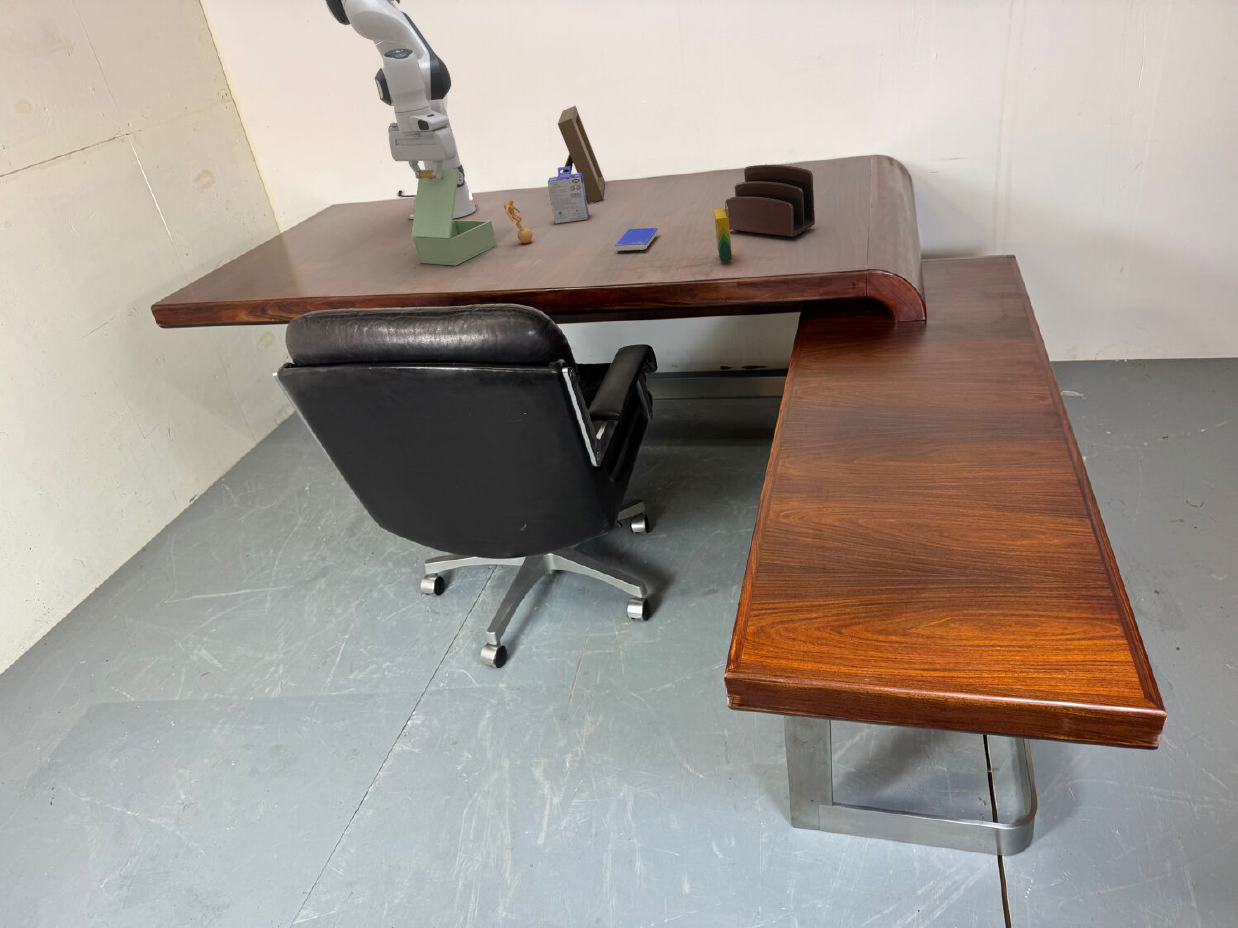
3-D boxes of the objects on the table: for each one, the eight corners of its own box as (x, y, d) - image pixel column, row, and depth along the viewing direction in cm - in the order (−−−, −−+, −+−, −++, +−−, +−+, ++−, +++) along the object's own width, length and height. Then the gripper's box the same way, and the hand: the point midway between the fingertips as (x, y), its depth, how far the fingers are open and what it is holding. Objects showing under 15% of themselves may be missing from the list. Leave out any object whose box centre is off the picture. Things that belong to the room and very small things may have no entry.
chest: (460, 243, 239) (454, 219, 235) (496, 245, 232) (491, 220, 228) (419, 263, 227) (412, 238, 224) (456, 265, 220) (449, 240, 217)
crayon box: (717, 250, 199) (713, 201, 193) (729, 249, 199) (726, 200, 193) (719, 261, 193) (715, 210, 187) (732, 259, 193) (728, 208, 187)
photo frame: (605, 184, 275) (593, 102, 262) (603, 202, 257) (590, 115, 243) (560, 190, 276) (546, 110, 263) (555, 208, 258) (540, 123, 245)
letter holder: (748, 218, 218) (745, 162, 211) (815, 225, 206) (814, 166, 198) (725, 230, 213) (721, 173, 205) (793, 238, 200) (791, 177, 193)
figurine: (530, 247, 226) (521, 202, 219) (508, 249, 227) (499, 205, 220) (536, 237, 233) (527, 193, 226) (515, 239, 234) (506, 196, 227)
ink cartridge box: (589, 214, 246) (581, 163, 238) (588, 219, 241) (580, 168, 234) (556, 219, 247) (547, 168, 239) (554, 224, 242) (545, 173, 234)
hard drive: (645, 243, 208) (657, 227, 218) (614, 244, 210) (627, 229, 220) (646, 249, 209) (658, 233, 219) (615, 250, 211) (628, 234, 221)
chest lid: (421, 170, 222) (408, 165, 219) (459, 170, 215) (446, 164, 211) (413, 236, 224) (400, 233, 220) (450, 238, 217) (437, 234, 213)
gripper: (377, 125, 213) (392, 181, 220) (435, 122, 202) (449, 181, 209) (395, 120, 217) (410, 175, 224) (453, 117, 206) (466, 175, 213)
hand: (429, 178), depth 216 cm, fingers closed on chest lid, 5 cm apart
